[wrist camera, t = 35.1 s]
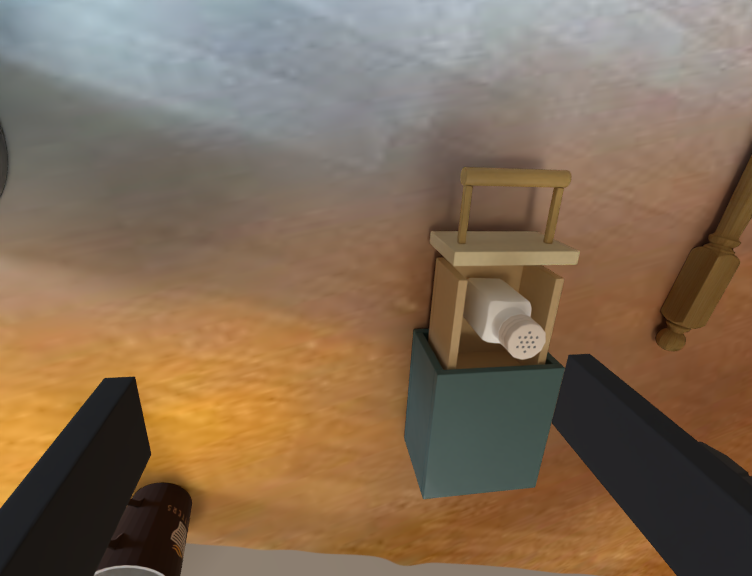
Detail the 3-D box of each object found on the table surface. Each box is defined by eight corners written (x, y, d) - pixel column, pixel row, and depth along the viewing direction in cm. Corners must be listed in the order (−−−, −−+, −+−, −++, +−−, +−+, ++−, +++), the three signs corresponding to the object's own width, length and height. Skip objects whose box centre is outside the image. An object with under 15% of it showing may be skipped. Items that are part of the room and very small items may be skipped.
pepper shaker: (463, 275, 39) (509, 318, 30) (502, 276, 40) (557, 319, 31) (457, 312, 40) (498, 364, 32) (494, 313, 41) (544, 364, 32)
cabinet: (413, 328, 43) (437, 375, 35) (519, 324, 45) (565, 367, 37) (403, 438, 48) (423, 499, 40) (499, 430, 50) (535, 487, 42)
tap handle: (848, 70, 36) (687, 357, 46) (809, 74, 39) (665, 344, 49) (824, 60, 36) (665, 354, 45) (786, 65, 38) (644, 340, 48)
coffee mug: (198, 532, 48) (173, 626, 39) (119, 529, 46) (72, 629, 37) (208, 456, 45) (183, 542, 35) (122, 450, 43) (72, 539, 34)
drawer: (437, 162, 36) (464, 170, 29) (550, 165, 37) (598, 174, 31) (418, 355, 43) (437, 394, 37) (514, 350, 45) (548, 387, 38)
